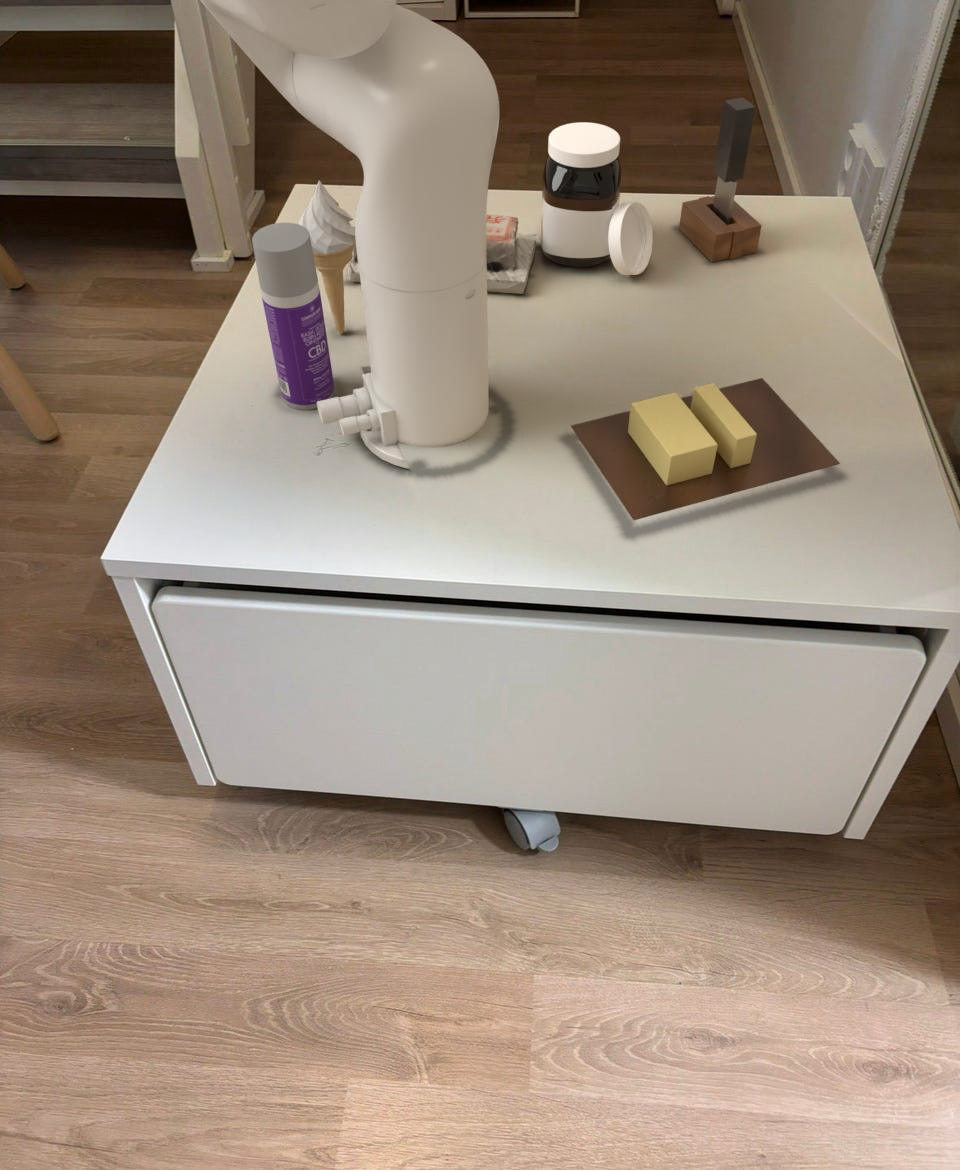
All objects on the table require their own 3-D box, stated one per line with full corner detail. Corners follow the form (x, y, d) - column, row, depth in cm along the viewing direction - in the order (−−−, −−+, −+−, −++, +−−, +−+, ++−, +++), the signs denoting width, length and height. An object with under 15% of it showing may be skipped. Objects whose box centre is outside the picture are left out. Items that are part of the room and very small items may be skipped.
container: (325, 412, 88) (300, 254, 77) (274, 407, 89) (241, 249, 78) (341, 380, 92) (318, 224, 80) (291, 375, 92) (262, 219, 81)
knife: (715, 249, 105) (738, 111, 95) (701, 235, 107) (722, 99, 97) (732, 245, 106) (757, 108, 96) (718, 232, 108) (741, 95, 97)
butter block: (666, 486, 79) (671, 456, 77) (627, 432, 84) (630, 402, 82) (712, 473, 80) (718, 444, 78) (671, 421, 85) (675, 391, 82)
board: (631, 534, 78) (633, 520, 77) (569, 439, 86) (570, 425, 84) (836, 477, 82) (840, 463, 81) (759, 391, 89) (762, 377, 88)
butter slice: (730, 469, 80) (736, 439, 78) (688, 416, 85) (693, 387, 83) (750, 463, 81) (757, 433, 79) (708, 411, 85) (713, 382, 83)
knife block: (712, 263, 104) (717, 236, 101) (677, 228, 109) (681, 201, 106) (757, 253, 105) (763, 226, 103) (721, 219, 110) (725, 192, 107)
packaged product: (340, 240, 99) (364, 190, 105) (346, 284, 102) (369, 234, 109) (526, 251, 96) (538, 200, 103) (525, 297, 100) (537, 245, 107)
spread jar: (543, 224, 110) (546, 113, 101) (649, 227, 109) (662, 116, 100) (536, 284, 102) (539, 170, 93) (651, 289, 101) (665, 174, 92)
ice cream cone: (358, 354, 94) (338, 199, 83) (301, 345, 95) (274, 191, 84) (378, 320, 98) (362, 168, 87) (323, 313, 99) (300, 161, 88)
